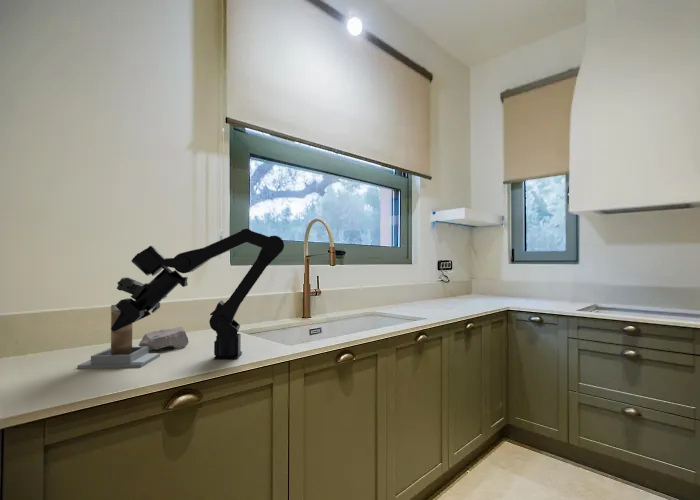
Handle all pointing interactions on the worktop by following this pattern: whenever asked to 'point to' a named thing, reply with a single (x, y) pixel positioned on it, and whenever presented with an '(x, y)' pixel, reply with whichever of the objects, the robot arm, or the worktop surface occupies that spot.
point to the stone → (165, 339)
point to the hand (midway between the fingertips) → (116, 328)
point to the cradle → (120, 359)
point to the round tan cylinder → (120, 335)
